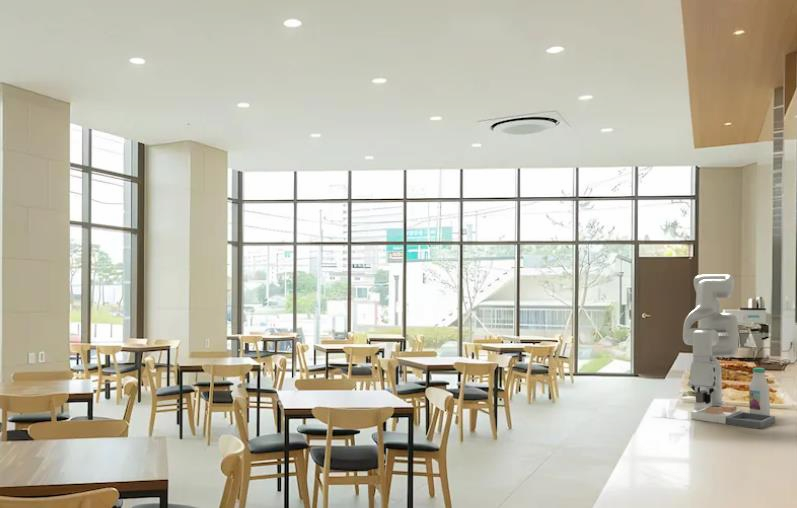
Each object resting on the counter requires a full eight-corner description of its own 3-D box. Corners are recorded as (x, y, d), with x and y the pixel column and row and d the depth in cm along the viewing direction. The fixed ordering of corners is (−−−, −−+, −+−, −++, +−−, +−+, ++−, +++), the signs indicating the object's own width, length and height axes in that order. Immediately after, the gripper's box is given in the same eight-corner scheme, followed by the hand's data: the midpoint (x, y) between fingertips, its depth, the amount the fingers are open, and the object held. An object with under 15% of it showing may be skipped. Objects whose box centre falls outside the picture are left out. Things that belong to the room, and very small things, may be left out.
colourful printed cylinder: (765, 413, 310) (764, 366, 310) (772, 417, 302) (772, 369, 303) (746, 413, 311) (745, 366, 311) (753, 416, 303) (752, 369, 303)
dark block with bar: (707, 405, 311) (706, 388, 311) (714, 405, 309) (713, 389, 309) (692, 410, 300) (692, 393, 300) (699, 411, 298) (699, 394, 298)
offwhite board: (706, 413, 311) (706, 406, 311) (740, 417, 301) (740, 410, 301) (691, 418, 300) (691, 411, 300) (725, 423, 290) (725, 416, 290)
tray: (741, 417, 301) (741, 411, 301) (774, 422, 292) (774, 416, 292) (726, 423, 290) (726, 417, 290) (761, 428, 281) (760, 422, 281)
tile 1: (710, 411, 301) (710, 406, 301) (722, 412, 297) (722, 407, 297) (705, 412, 297) (705, 408, 297) (718, 414, 294) (718, 409, 294)
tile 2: (724, 409, 305) (724, 404, 305) (736, 410, 301) (736, 405, 301) (719, 410, 301) (719, 406, 301) (731, 412, 298) (731, 407, 298)
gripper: (725, 360, 302) (726, 404, 301) (687, 357, 313) (688, 399, 313) (718, 362, 296) (719, 406, 296) (679, 358, 308) (680, 401, 308)
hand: (703, 402), depth 305 cm, fingers closed on dark block with bar, 3 cm apart
